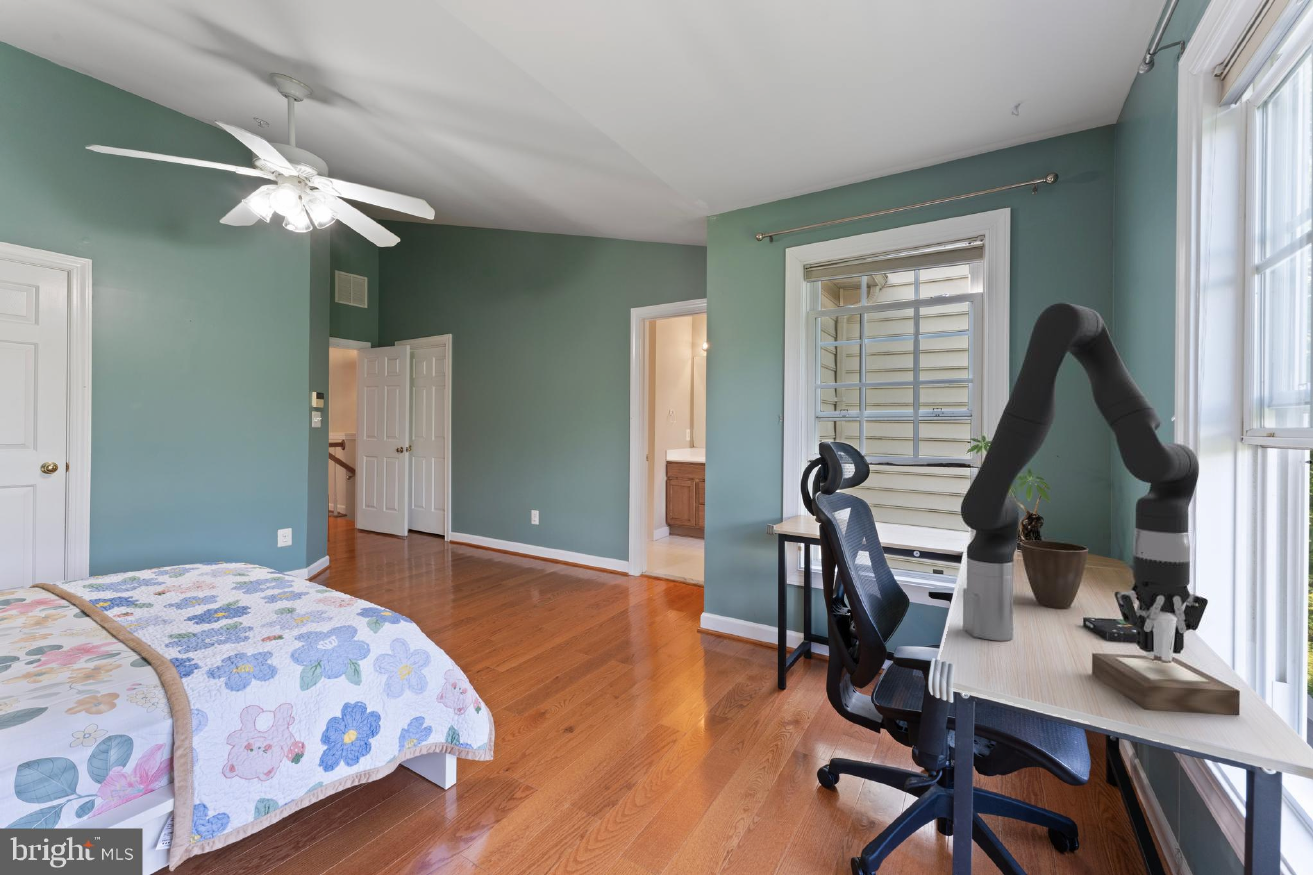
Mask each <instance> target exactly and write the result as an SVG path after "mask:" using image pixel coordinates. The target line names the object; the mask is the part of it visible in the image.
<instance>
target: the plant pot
mask: <svg viewBox="0 0 1313 875" xmlns="http://www.w3.org/2000/svg"><path fill="white" fill-rule="evenodd" d="M1020 551H1021V556H1022V561H1023V566H1024V569H1025V574H1026V577H1027V580H1028V583H1029V586H1030V589H1031V592H1032V593H1033V596H1034V598H1035V600H1036V603H1037V604H1039V605H1040V606H1044V607H1047V608H1053V609H1063V610H1064V609H1070V608H1071V606H1072V604H1073V603H1074V600H1075V598H1076V596H1077V594H1078V591H1079V589H1080V585H1081V582H1082V581H1083V580H1082V579H1083V576H1084V573H1085V569H1086V564H1087V560H1088V553H1089V548H1088V547H1086V546H1084V545H1082V544H1080V545H1079V544H1075V543H1069V542H1061V541H1051V540H1023V541H1020Z"/></svg>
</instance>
